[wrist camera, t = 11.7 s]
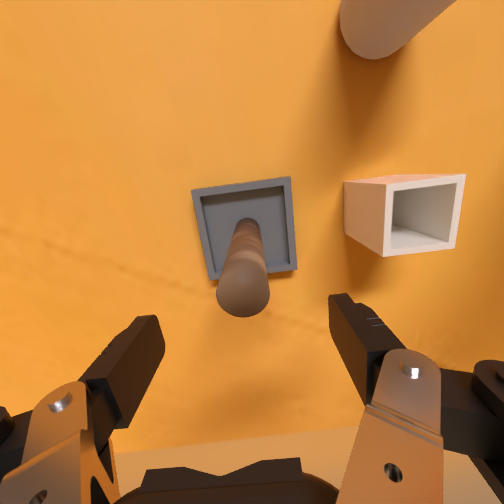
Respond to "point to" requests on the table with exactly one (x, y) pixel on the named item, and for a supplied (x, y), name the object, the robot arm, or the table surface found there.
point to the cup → (404, 212)
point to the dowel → (244, 273)
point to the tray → (247, 206)
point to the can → (385, 23)
